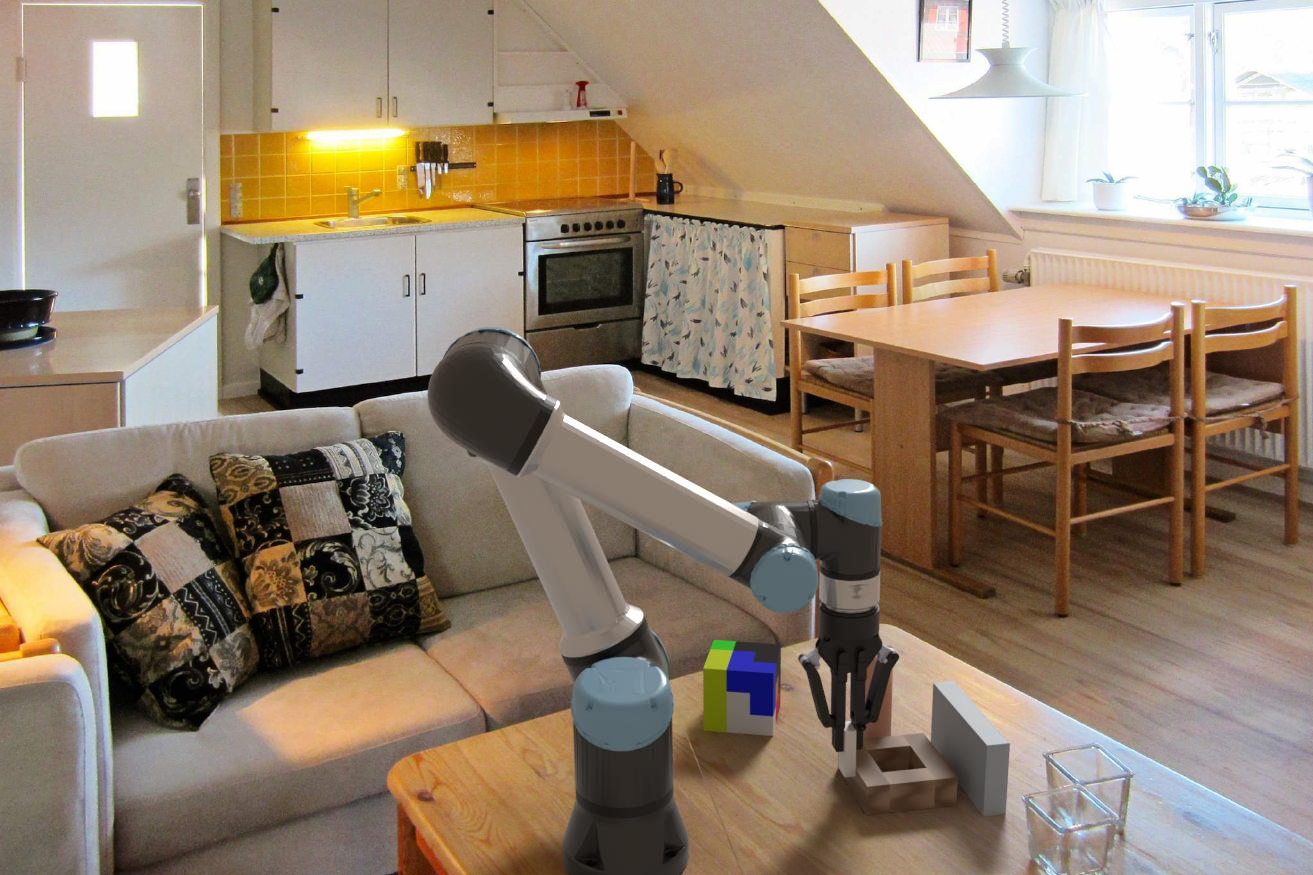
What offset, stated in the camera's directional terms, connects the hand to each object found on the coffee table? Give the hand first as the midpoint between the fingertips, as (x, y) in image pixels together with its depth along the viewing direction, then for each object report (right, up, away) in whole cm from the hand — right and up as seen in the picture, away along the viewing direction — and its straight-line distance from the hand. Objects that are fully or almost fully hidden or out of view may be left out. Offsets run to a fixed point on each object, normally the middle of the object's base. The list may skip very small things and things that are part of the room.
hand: (846, 771), depth 168 cm
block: (+7, -2, +2) cm, 7 cm away
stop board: (+16, -2, +3) cm, 17 cm away
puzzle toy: (-12, +2, +22) cm, 25 cm away
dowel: (+6, 0, +13) cm, 14 cm away
